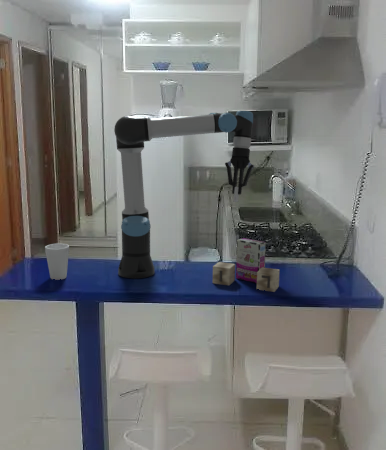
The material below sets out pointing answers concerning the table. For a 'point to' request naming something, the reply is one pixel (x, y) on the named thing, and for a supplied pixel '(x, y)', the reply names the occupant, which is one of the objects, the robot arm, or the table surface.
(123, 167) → the robot arm
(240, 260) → the candy bar box
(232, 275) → the wooden character cube
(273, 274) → the light wood cube
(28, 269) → the table surface
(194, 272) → the table surface
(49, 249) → the foam cup
